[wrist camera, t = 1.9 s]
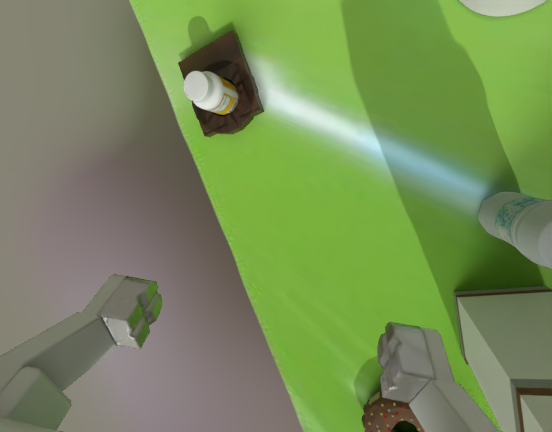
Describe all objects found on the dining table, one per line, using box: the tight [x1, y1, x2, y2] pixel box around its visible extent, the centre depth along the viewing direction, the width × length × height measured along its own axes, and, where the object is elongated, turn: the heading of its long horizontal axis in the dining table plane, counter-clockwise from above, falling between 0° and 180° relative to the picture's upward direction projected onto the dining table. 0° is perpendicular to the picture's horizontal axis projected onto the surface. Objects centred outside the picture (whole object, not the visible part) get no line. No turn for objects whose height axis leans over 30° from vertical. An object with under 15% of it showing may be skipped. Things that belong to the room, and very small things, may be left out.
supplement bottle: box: [184, 71, 239, 116], centre depth 46 cm, size 5×5×10 cm
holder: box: [178, 31, 264, 137], centre depth 49 cm, size 14×11×2 cm
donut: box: [362, 391, 425, 432], centre depth 48 cm, size 14×14×5 cm
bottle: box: [478, 192, 552, 269], centre depth 32 cm, size 7×7×20 cm
